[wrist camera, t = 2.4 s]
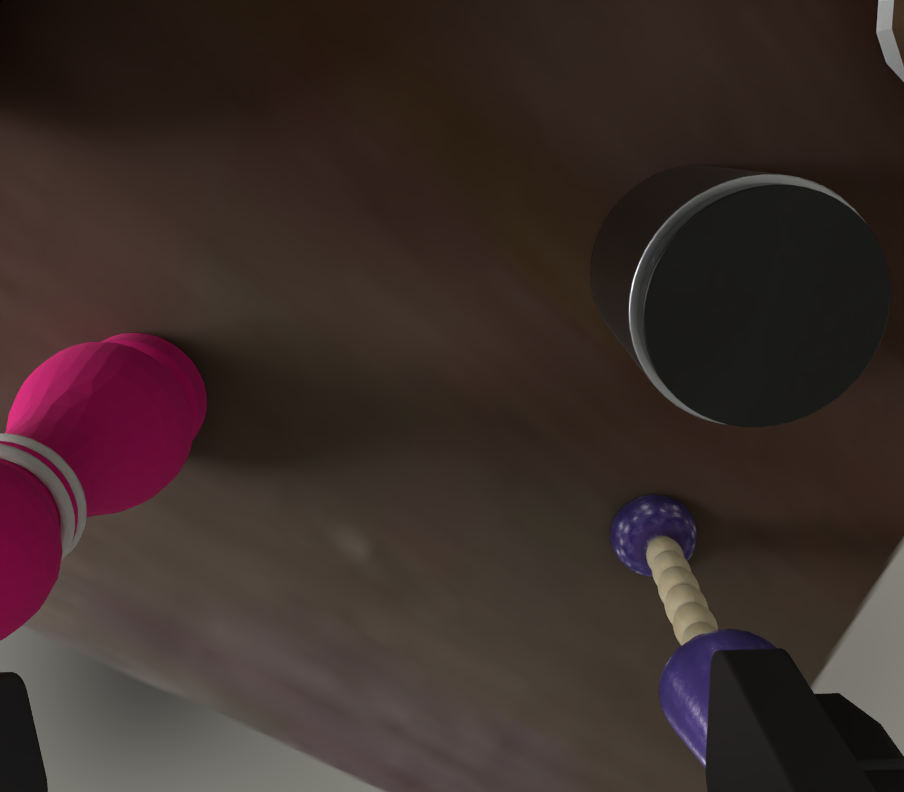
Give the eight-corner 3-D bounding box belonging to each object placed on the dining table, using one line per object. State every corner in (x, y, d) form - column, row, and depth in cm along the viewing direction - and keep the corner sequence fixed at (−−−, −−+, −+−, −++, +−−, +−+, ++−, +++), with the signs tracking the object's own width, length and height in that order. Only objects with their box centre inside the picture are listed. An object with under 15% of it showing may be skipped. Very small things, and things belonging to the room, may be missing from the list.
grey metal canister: (655, 128, 37) (725, 124, 27) (828, 223, 38) (955, 253, 28) (554, 310, 39) (586, 367, 29) (720, 395, 40) (802, 476, 30)
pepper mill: (95, 295, 39) (-257, 449, 20) (241, 362, 40) (40, 571, 21) (46, 428, 41) (-318, 686, 22) (186, 489, 42) (-44, 789, 23)
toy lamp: (588, 556, 43) (665, 806, 27) (617, 474, 41) (718, 685, 25) (677, 579, 43) (807, 840, 27) (710, 498, 42) (867, 722, 26)
